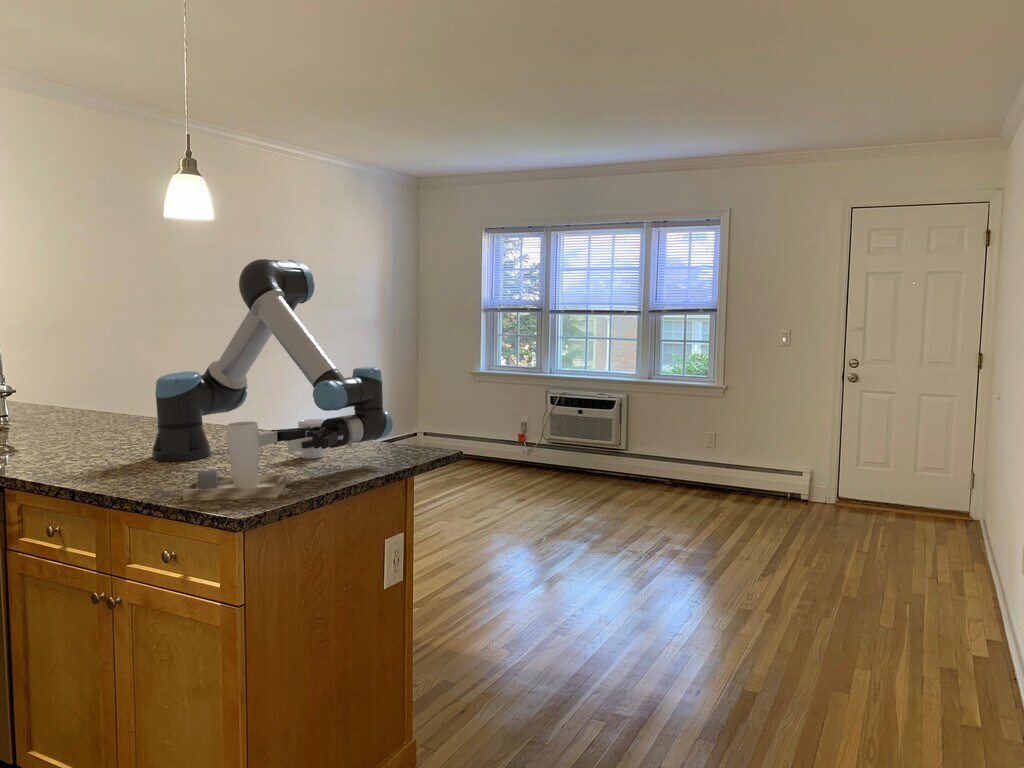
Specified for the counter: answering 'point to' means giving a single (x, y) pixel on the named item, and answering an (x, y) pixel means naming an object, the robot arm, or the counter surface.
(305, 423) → the white cup
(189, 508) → the counter surface
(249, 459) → the drinking glass
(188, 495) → the tray
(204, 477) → the cube
